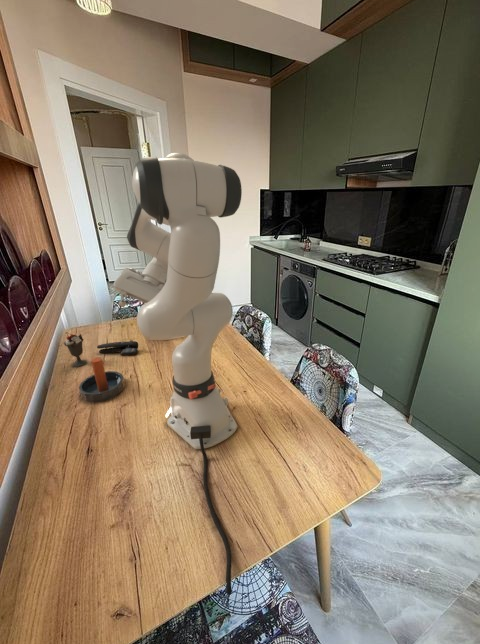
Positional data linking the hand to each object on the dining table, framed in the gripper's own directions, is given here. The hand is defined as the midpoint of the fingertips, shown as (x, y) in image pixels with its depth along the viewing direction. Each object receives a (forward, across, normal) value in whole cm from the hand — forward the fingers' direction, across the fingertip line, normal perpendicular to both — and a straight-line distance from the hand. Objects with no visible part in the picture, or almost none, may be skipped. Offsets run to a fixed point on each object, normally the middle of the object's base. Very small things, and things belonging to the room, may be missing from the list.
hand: (134, 311), depth 94 cm
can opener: (+8, -8, +41) cm, 42 cm away
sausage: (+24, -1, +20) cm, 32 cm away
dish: (+25, -1, +20) cm, 32 cm away
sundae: (+18, -19, +37) cm, 45 cm away
